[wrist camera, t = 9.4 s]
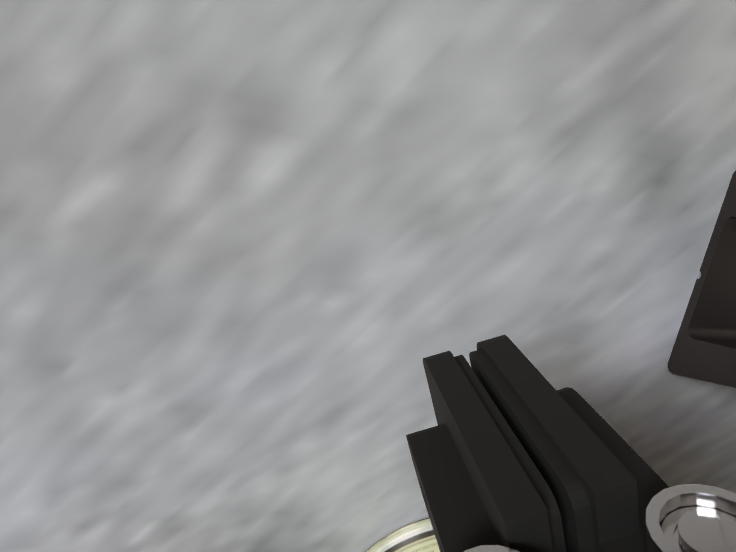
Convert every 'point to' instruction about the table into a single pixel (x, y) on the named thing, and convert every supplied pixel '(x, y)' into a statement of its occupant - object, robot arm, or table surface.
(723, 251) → the phone stand
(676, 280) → the table surface
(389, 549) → the coffee can
